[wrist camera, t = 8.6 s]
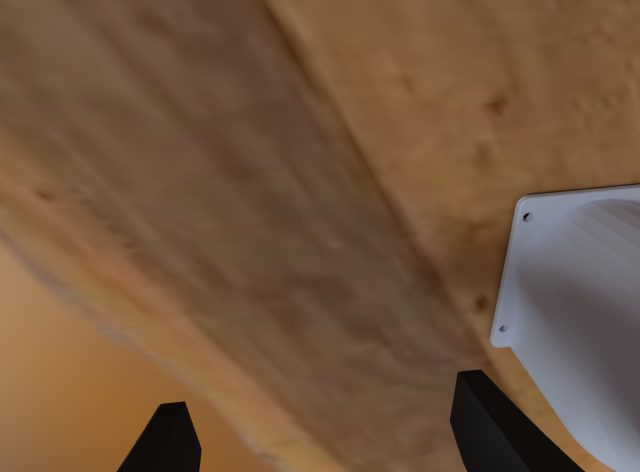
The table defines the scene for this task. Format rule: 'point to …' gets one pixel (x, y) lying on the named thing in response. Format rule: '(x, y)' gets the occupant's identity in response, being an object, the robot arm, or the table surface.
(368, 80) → the table surface
